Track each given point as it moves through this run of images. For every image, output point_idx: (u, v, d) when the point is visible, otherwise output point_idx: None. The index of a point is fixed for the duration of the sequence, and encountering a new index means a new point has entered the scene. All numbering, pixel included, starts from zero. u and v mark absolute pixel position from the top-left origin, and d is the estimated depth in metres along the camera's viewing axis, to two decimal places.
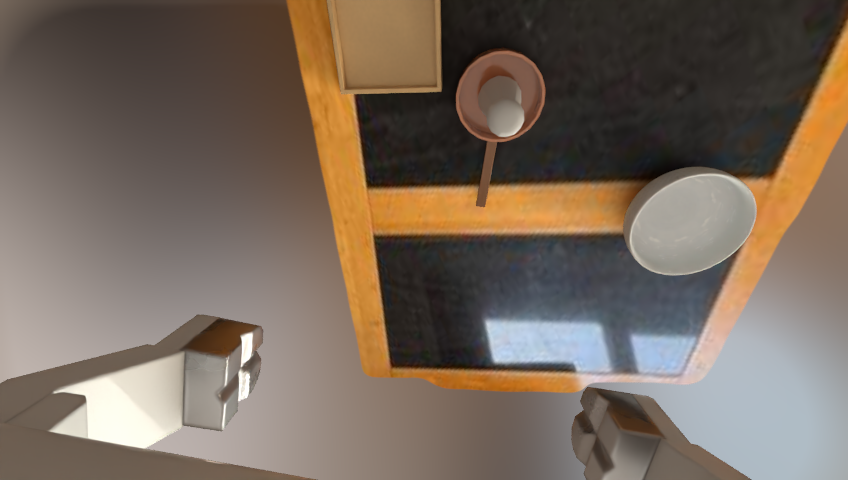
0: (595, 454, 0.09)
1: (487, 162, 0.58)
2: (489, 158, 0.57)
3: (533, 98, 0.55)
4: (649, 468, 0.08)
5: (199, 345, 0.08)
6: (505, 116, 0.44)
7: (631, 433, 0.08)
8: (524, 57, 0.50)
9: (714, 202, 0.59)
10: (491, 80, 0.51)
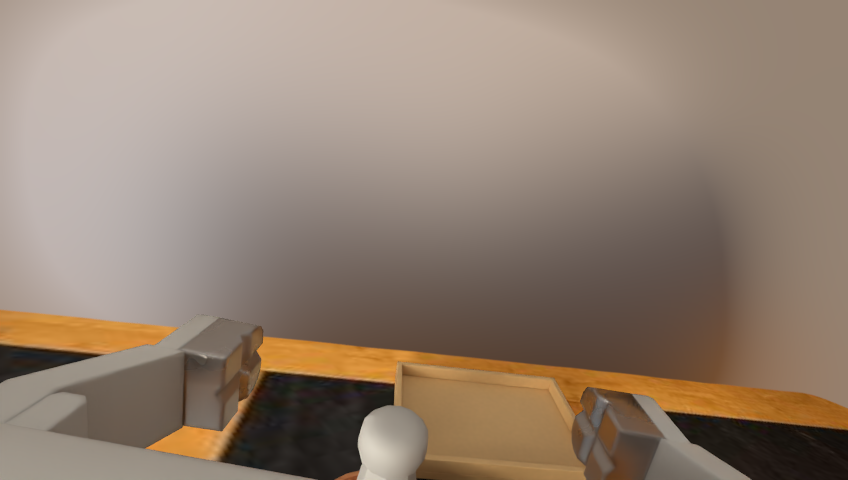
0: (595, 454, 0.09)
1: None
2: None
3: None
4: (649, 468, 0.08)
5: (200, 345, 0.08)
6: (404, 421, 0.24)
7: (631, 433, 0.08)
8: None
9: None
10: None
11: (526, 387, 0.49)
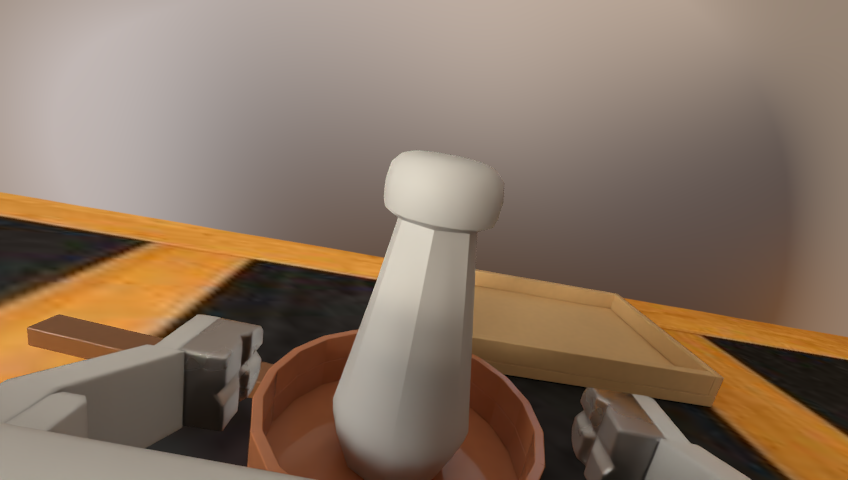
0: (595, 454, 0.09)
1: None
2: None
3: None
4: (649, 468, 0.08)
5: (199, 345, 0.08)
6: (464, 158, 0.14)
7: (631, 433, 0.08)
8: (538, 471, 0.14)
9: None
10: None
11: (582, 303, 0.39)
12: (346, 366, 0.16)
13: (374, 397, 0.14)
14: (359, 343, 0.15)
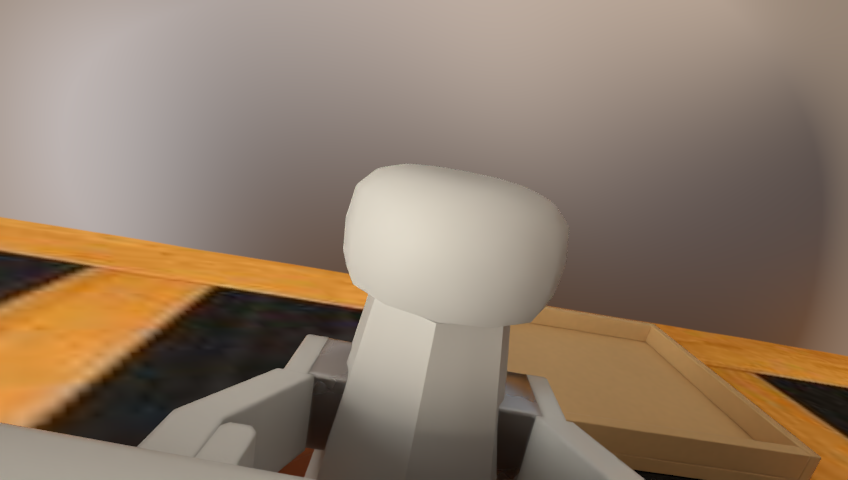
0: None
1: None
2: None
3: None
4: (527, 445, 0.08)
5: (325, 368, 0.08)
6: (491, 178, 0.08)
7: (507, 410, 0.08)
8: None
9: None
10: None
11: (612, 336, 0.33)
12: None
13: None
14: None
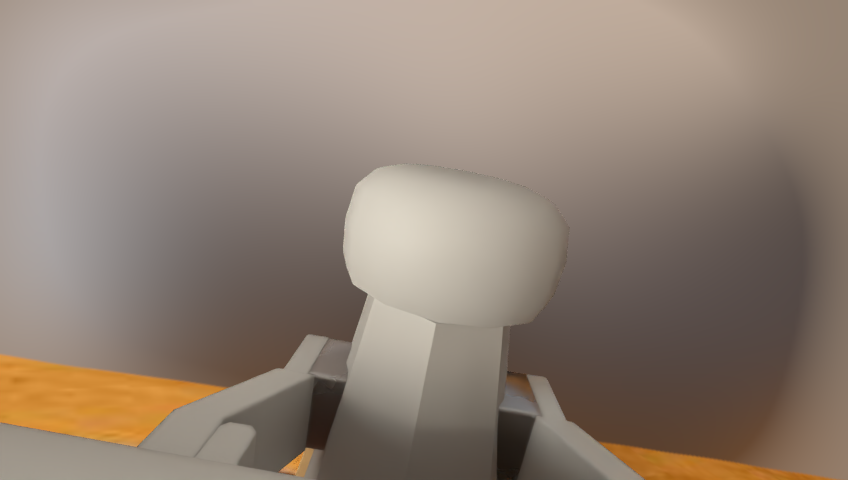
0: None
1: None
2: None
3: None
4: (527, 446, 0.08)
5: (325, 369, 0.08)
6: (491, 178, 0.08)
7: (507, 410, 0.08)
8: None
9: None
10: None
11: None
12: None
13: None
14: None
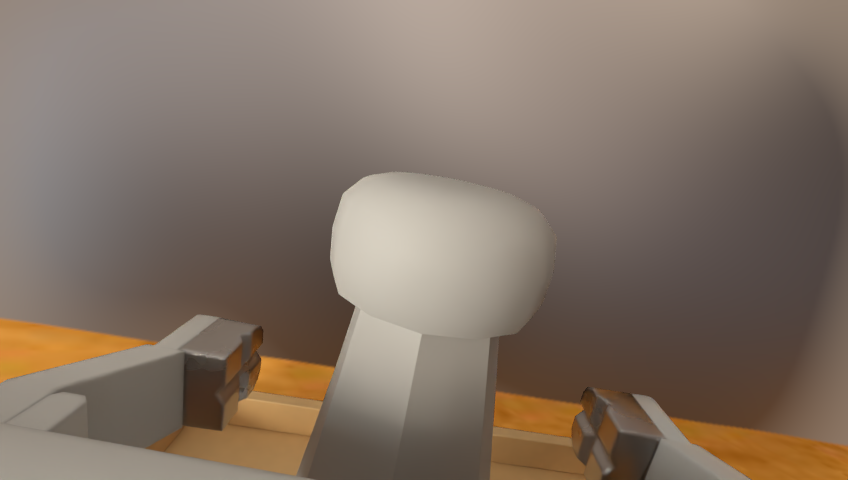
0: (595, 454, 0.09)
1: None
2: None
3: None
4: (649, 468, 0.08)
5: (200, 345, 0.08)
6: (479, 186, 0.08)
7: (631, 433, 0.08)
8: None
9: None
10: None
11: (542, 468, 0.18)
12: None
13: None
14: None
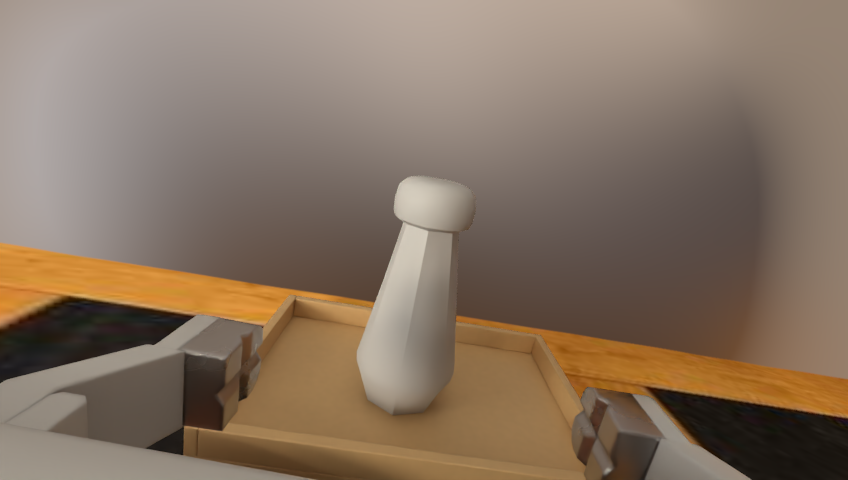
0: (595, 454, 0.09)
1: None
2: None
3: None
4: (649, 468, 0.08)
5: (199, 345, 0.08)
6: (449, 181, 0.20)
7: (631, 433, 0.08)
8: None
9: None
10: None
11: (496, 347, 0.31)
12: (366, 327, 0.22)
13: (388, 345, 0.20)
14: (376, 310, 0.21)
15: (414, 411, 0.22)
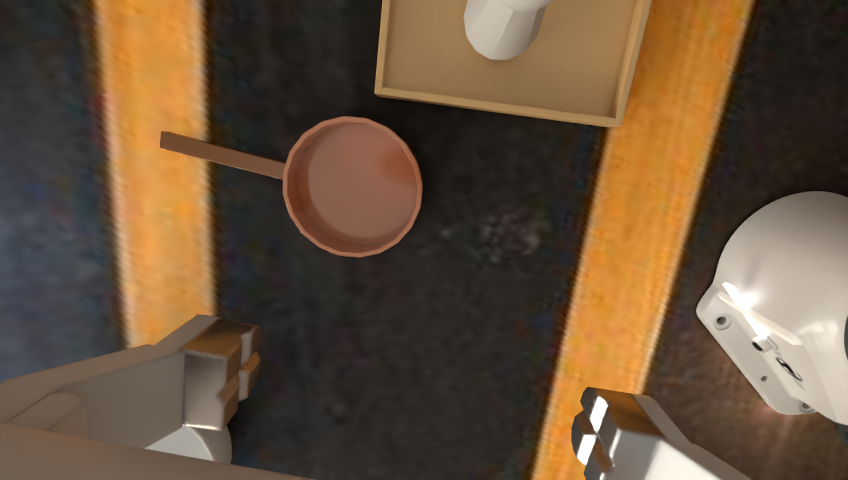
0: (595, 454, 0.09)
1: (247, 160, 0.33)
2: (254, 164, 0.33)
3: (347, 236, 0.37)
4: (649, 468, 0.08)
5: (199, 346, 0.08)
6: None
7: (631, 433, 0.08)
8: (407, 229, 0.34)
9: None
10: None
11: None
12: (469, 12, 0.27)
13: (484, 41, 0.28)
14: (476, 13, 0.26)
15: None
